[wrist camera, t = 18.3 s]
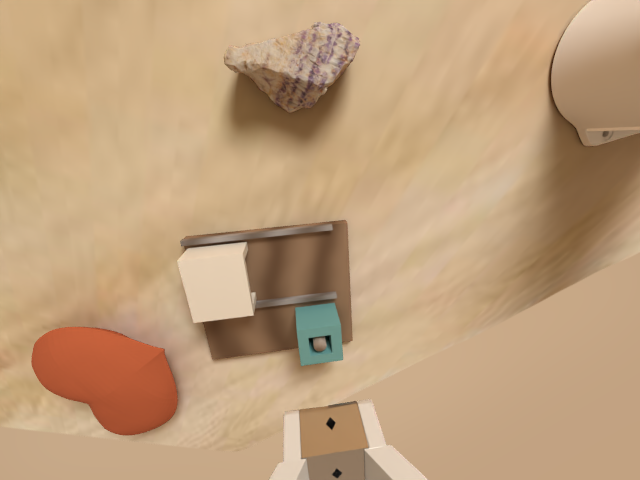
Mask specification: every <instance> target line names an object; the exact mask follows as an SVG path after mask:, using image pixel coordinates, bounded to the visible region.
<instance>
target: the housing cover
mask: <svg viewBox="0 0 640 480" xmlns="http://www.w3.org/2000/svg"><path fill="white" fill-rule="evenodd" d="M247 251H248V246H247V242H241V243H231V244H222V245H213V246H203V247H194V248H188V249H187V250H186V251H185V252H184V253H183V255H182V256H181V257H180V258H179V259H178V260H177V263H178V266H179V270H180V274H181V278H182V281H183V285H184V289H185V293H186V297H187V300H188V304H189V308H190V312H191V315H192V319H193V323H198V322H206V321H214V320H222V319H230V318H238V317H246V316H254V311H255V305H256V299H257V298H256V292H252V293H251V290H250V284H249V279H248V273H247V267H246V262H245V258H246V255H247Z"/></svg>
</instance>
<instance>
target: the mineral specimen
mask: <svg viewBox="0 0 640 480" xmlns="http://www.w3.org/2000/svg"><path fill="white" fill-rule="evenodd" d="M311 27H312V29H307V30H305V31H301V32H298V33H295V34H291V35H287V36H284V37H281V38H278V39H275V38H274V39H270V40H267V41H264V42H260V43H252V44H246V45H244V46H243V47H237V46H235V47H234V46H232V45H229V47H228V49H227V50H226V52H225V55H224V63H225V65H226V66H228V68H229V69H231V70H233V71H234V72H235V73H236V72H242V73H244V74H245V75H247V76H249V77H250V78H251V79H252V80H253V81H254V82H255V83H256V84H257V86H258V87H259V89H260V90H261V91H263V92H265V93H267V94H268V96H269V98H270V99H271V100H272V101H273V102H274V103H275V104H276V105H277V106H280V107H281V108H283V109H284V110H286V111H287V112H289V113H292V112H294V111H296V110H298V109H301V108H303V107H304V108H310V107H313V106H314V104H315V103H316V102H317V100H318V98H319V97H320V96H321V95H324V94H325V93H326V92H327V88H328V87H329V86H330V85H332V84H333V83H334V82H335V81H336V80H337V79H338V77H339V76H340V75H342V73H343V72H344V71H345V70H346V68H347V67H348V66H349V64H350V63H351V62H352V61H353V59H354V57H355V54H356V52H357V50H358V48H359V46H360V43H359V42H360V41H359V38H357V37H356V36H354V35H353V34H351V33H350V32H349V31H348V30H347V29H346V28H345V27H344V26H342V25H340V24H338V23H332V24H324V23H321V22H317V23H316V22H315V23H314V24H313V25H312V26H311Z"/></svg>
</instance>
